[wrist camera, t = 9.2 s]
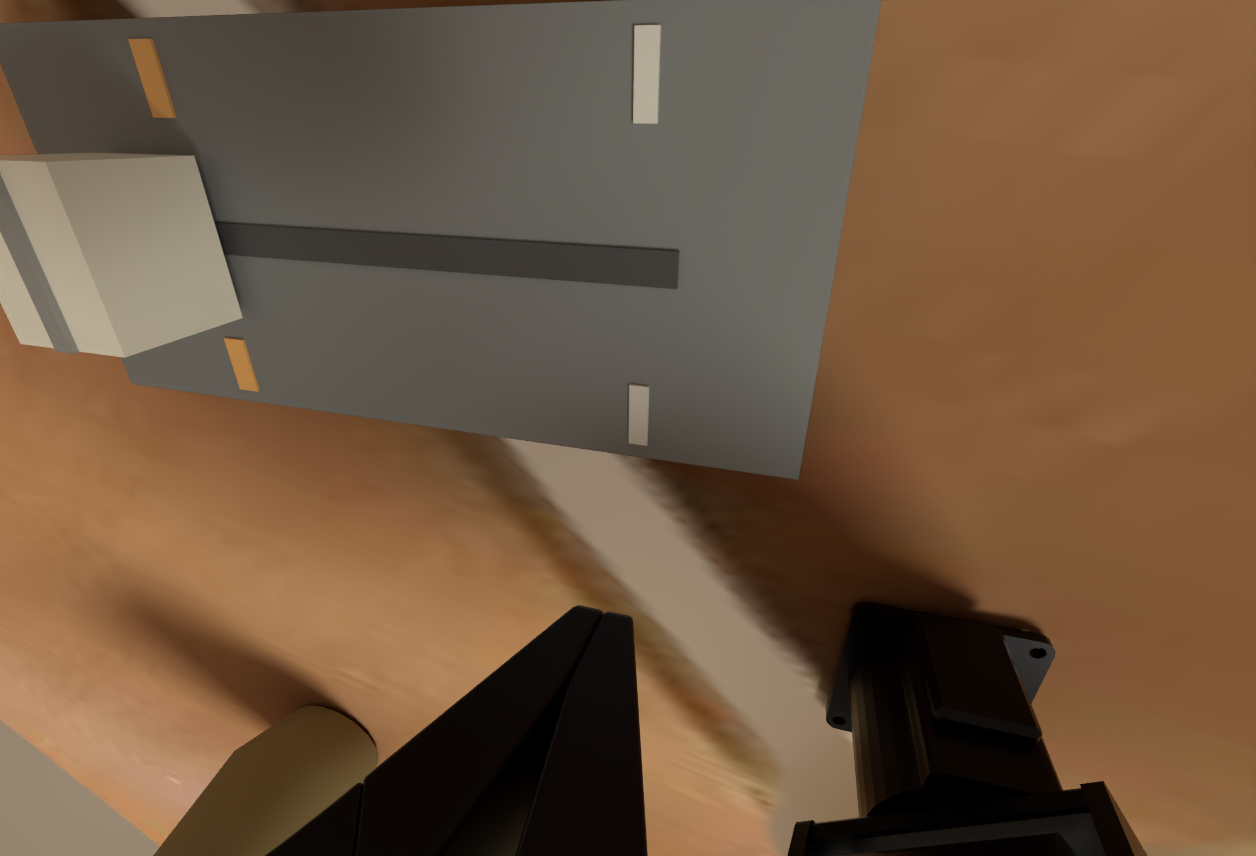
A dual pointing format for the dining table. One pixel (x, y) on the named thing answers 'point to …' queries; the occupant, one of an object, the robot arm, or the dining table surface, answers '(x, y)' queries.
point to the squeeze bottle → (275, 786)
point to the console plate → (498, 207)
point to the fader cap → (109, 252)
